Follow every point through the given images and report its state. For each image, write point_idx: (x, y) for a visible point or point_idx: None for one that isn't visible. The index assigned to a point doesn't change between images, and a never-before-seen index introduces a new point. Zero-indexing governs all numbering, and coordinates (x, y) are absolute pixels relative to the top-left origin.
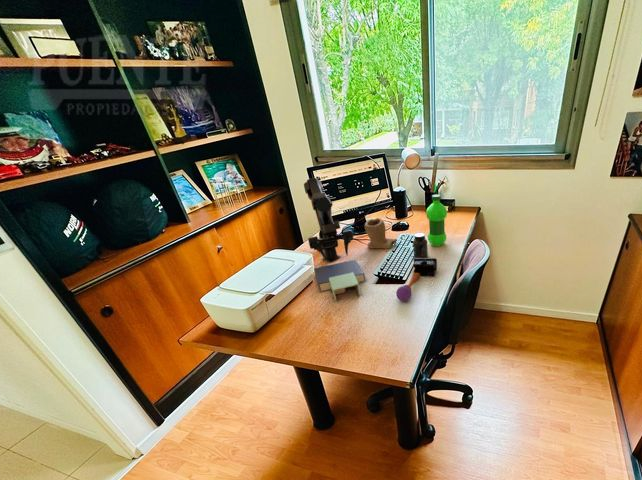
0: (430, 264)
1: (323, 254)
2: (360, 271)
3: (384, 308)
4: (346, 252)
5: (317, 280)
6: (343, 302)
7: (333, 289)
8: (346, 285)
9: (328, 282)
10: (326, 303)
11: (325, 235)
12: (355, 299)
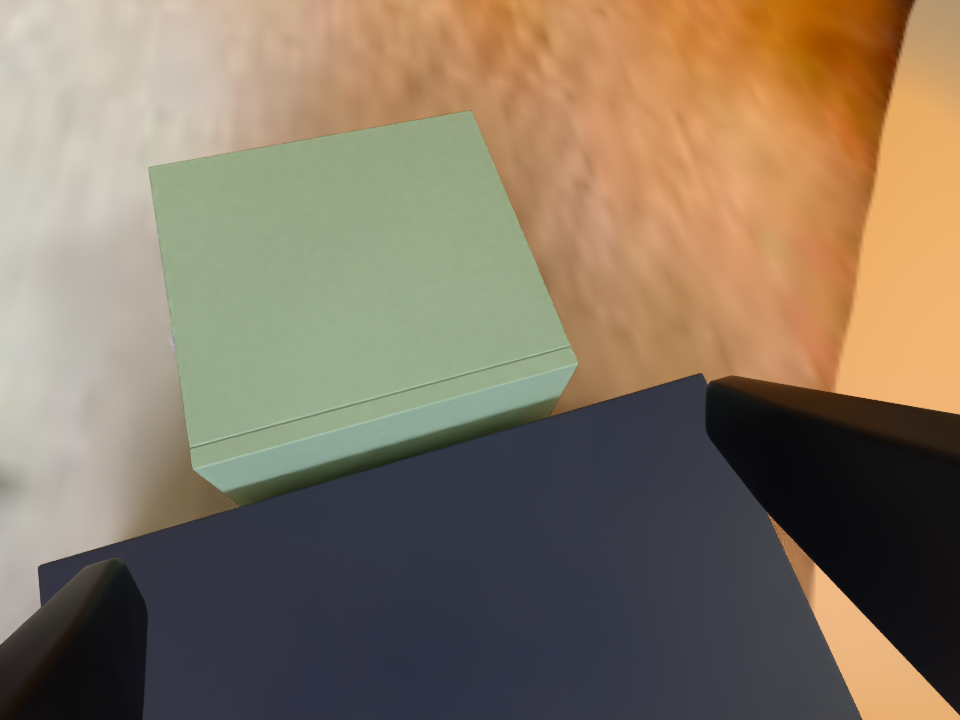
0: None
1: (841, 412)
2: None
3: (7, 20)
4: (79, 594)
5: (752, 497)
6: None
7: (466, 114)
8: (310, 156)
9: (582, 409)
10: (543, 192)
11: None
12: None
